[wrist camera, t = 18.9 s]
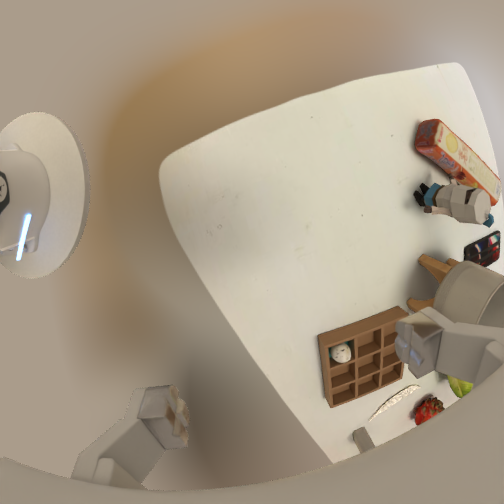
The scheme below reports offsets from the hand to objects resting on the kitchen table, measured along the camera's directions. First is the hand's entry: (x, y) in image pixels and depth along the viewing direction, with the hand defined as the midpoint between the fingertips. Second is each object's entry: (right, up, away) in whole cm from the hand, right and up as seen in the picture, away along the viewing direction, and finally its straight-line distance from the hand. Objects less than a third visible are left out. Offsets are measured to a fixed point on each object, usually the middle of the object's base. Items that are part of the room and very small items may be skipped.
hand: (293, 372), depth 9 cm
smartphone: (+49, +4, +35) cm, 60 cm away
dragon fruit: (+45, -38, +45) cm, 74 cm away
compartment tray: (+19, -15, +36) cm, 43 cm away
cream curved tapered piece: (+32, -31, +42) cm, 61 cm away
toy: (+27, +13, +30) cm, 43 cm away
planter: (+32, -2, +34) cm, 47 cm away
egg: (+13, -12, +34) cm, 38 cm away
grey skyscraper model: (+25, -41, +44) cm, 65 cm away
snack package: (+35, +20, +29) cm, 50 cm away
